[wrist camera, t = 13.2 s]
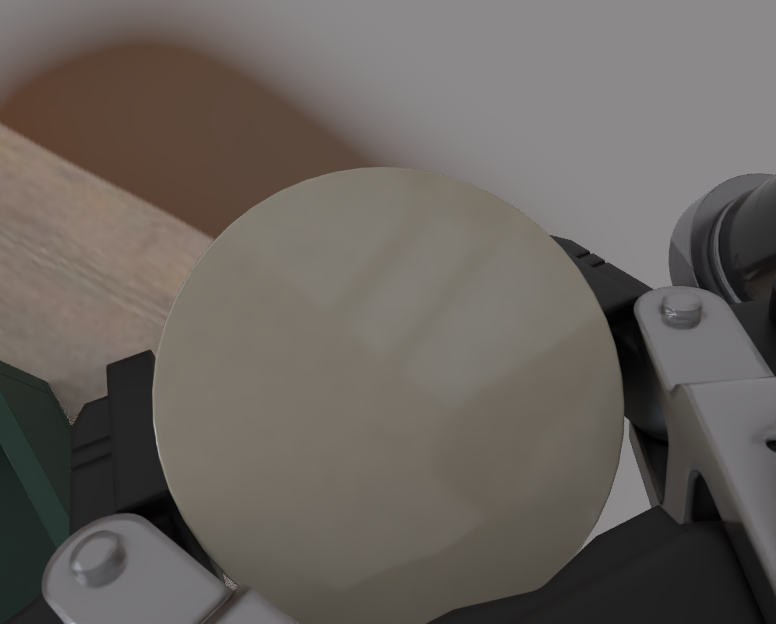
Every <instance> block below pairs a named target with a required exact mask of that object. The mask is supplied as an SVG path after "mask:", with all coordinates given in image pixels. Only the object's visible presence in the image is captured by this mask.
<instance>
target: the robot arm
mask: <svg viewBox="0 0 776 624" xmlns="http://www.w3.org/2000/svg"><path fill="white" fill-rule="evenodd" d="M549 236H550V237H551V238H552V239H553V240H555V241H556V242H557V243H558V244H559V245H560V246H561V248H562V249H563V250H564V251H565V252H566V254H567V255H568V256H569V257H570V259H571V260H572V261H573V262H574V264H575V265H576V266H577V267H578V269H579V270H580V272H581V273H582V275H583V276H584V278H585V280H586V281H587V283H588V284H589V286H590V288H591V289H592V291H593V292H594V294H595V296H596V298H597V300H598V302H599V305H600V307H601V309H602V311H603V313H604V315H605V317H606V319H607V322H608V325H609V328H610V331H611V334H612V337H613V340H614V343H615V346H616V350H617V354H618V359H619V364H620V368H621V373H622V381H623V393H624V404H625V407H624V416H625V417H626V418H628V419H629V420H630V424H629V438H630V442H631V445H632V448H633V452H634V455H635V458H636V461H637V464H638V467H639V470H640V473H641V476H642V479H643V483H644V486H645V489H646V492H647V495H648V498H649V501H650V505H651V509H649V510H647V511H645V512H643V513H641V514H639V515H638V516H636V517H633V518H631V519H630V520H628V521H626V522H624V523H622V524H620V525H618V526H616V527H614V528H612V529H610V530H608V531H606V532H604V533H602V534H600V535H598V536H596V537H595V538H594V539H593V540H592V541H591V542H590V543H589V544H588V545H587V546H585V547H584V549H582V550H581V551H580V552H579V553H578V554H577V555H576V556H575V557H574V558H573V559H572V560H571V561H569V562H568V563H567V564H566V565H565V566H564V567H563V568H562V569H561V570H560V571H559V572H558V573H557V574H556V575H555V576H553V577H552V578H551V579H550V580H549V581H548V582H547V583H546V584H545V585H543V586H542V587H541V588H539V589H537V590H534V591H531V592H527V593H523V594H518V595H514V596H510V597H505V598H501V599H497V600H492V601H488V602H484V603H479V604H475V605H471V606H466V607H462V608H458V609H453V610H451V611H449V612H448V613H446V614H444V615H442V616H440V617H438V618H436V619H434V620H432V621H430V622H428V623H426V624H776V175H774V176H773V177H771V178H770V179H768V180H767V181H765V182H764V183H762V184H761V185H759V186H758V187H756V188H754V189H753V190H750V191H748V192H745V193H744V194H742V195H740V196H739V197H737V198H736V199H734V200H733V201H731V202H730V203H729V204H728V205H727V206H725V207H724V209H723V210H722V211H721V212H720V214H719V215H718V217H717V219H716V221H715V223H714V225H713V228H712V232H711V236H710V259H711V265H712V269H713V272H714V275H715V278H716V280H717V282H718V284H719V287H720V288H721V290H722V292H723V293H724V295H725V296H726V298H727V299H728V301H729V302H730V303H731V304H730V305H728V304H727V303H726V302H725V301H724V300H723V299H722V298H721V297H719V296H717V295H715V294H713V293H711V292H709V291H706V290H703V289H699V288H694V287H686V286H670V287H663V288H658V289H652V288H650V287H649V286H647V285H645V284H644V283H642V282H640V281H639V280H637V279H635V278H633V277H632V276H630V275H629V274H627V273H625V272H624V271H622V270H620V269H618V268H617V267H615V266H613V265H612V264H610V263H605V261H604V260H603V259H602V258H600V257H598V256H597V255H595V254H590V251H588V250H587V249H585V248H583V247H581V246H580V245H578V244H576V243H575V242H573V241H571V240H568V239H564V238H559V237H556V236H551V235H549ZM154 368H155V356H154V354H153V352H152V351H151V350H147V351H144V352H141V353H139V354H136V355H133V356H130V357H128V358H125V359H122V360H119V361H116V362H114V363H111V364H108V365H107V367H106V372H107V389H108V396H105V397H103V398H100V399H97V400H95V401H92V402H89V403H87V404H85V405H84V406H83V408H82V410H81V412H80V413H79V415H78V417H77V419H76V421H75V422H74V424H73V426H72V428H71V451H72V454H71V470H72V472H71V473H70V515H69V538H68V539H67V540H66V541H65V542H64V543H63V544H62V545H61V546H60V547H59V548H58V549H57V550H56V552H55V553H54V554H53V556H52V557H51V559H50V561H49V562H48V564H47V566H46V568H45V571H44V573H43V578H42V592H41V593H40V595H38V596H37V597H36V598H35V599H34V600H33V601H32V602H31V603H30V604H28V605H27V606H26V607H24V608H23V609H22V610H20V611H19V612H18V613H16V614H15V615H13V616H12V617H11V618H9V619H8V620H6V621H5V622H3V623H2V624H297V623H295V622H294V621H293V620H292V619H290V618H289V617H288V616H287V615H285V614H284V613H283V612H282V611H280V610H279V609H278V608H277V607H275V606H274V605H273V604H272V603H270V602H269V601H268V600H267V599H266V598H264V597H263V596H262V595H261V594H259V593H258V592H257V591H255V590H254V589H252V588H250V587H249V586H246V585H243V584H242V585H240V586H239V587H238V588H237V589H236V590H234V591H233V590H232V589H230V588H229V587H227V586H226V585H225V581H224V577H223V572H222V570H221V569H220V568H219V567H218V566H217V565H216V564H215V563H214V561H213V560H212V559H211V558H210V557H209V556H208V555H207V554H206V552H205V551H204V550H203V549H202V547H201V546H200V544H199V543H198V541H197V540H196V538H195V537H194V535H193V534H192V532H191V531H190V529H189V528H188V526H187V525H186V523H185V522H184V520H183V518H182V516H181V514H180V512H179V510H178V508H177V505H176V503H175V501H174V499H173V497H172V495H171V493H170V491H169V488H168V485H167V482H166V479H165V476H164V473H163V469H162V466H161V463H160V460H159V456H158V451H157V445H156V439H155V433H154V427H153V407H152V386H153V377H154Z"/></svg>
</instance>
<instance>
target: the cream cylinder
mask: <svg viewBox="0 0 776 624" xmlns="http://www.w3.org/2000/svg"><path fill="white" fill-rule="evenodd" d="M152 407H153V427H154V433H155V439H156V445H157V451H158V456H159V460H160V463H161V466H162V469H163V473H164V476H165V479H166V482H167V485H168V488H169V491H170V493H171V495H172V497H173V499H174V501H175V503H176V505H177V508H178V510H179V512H180V514H181V516H182V518H183V520H184V522H185V523H186V525H187V526H188V528H189V529H190V531H191V532H192V534H193V535H194V537H195V538H196V540H197V541H198V543H199V544H200V546H201V547H202V549H203V550H204V551H205V552H206V554H207V555H208V556H209V557H210V558H211V559H212V560H213V561H214V563H215V564H216V565H217V566H218V567H219V568H220V569H221V570H222V572H223V573H224V574H225V575H226V576H227V577H228V578H230V579H231V580H232V581H233V582H234V583H235V584H237V585H238V586H240V585H242V584H243V585H246V586H249V587H250V588H252V589H254V590H255V591H257V592H258V593H259V594H261V595H262V596H263V597H264V598H266V599H267V600H268V601H269V602H270V603H272V604H273V605H274V606H275V607H277V608H278V609H279V610H280V611H282V612H283V613H284V614H285V615H287V616H288V617H289V618H290V619H292V620H293V621H294V622H296V623H298V624H426V623H428V622H430V621H432V620H434V619H436V618H438V617H440V616H442V615H444V614H446V613H448V612H449V611H451V610H453V609H458V608H462V607H466V606H471V605H475V604H479V603H484V602H488V601H492V600H497V599H501V598H505V597H510V596H514V595H518V594H523V593H527V592H531V591H534V590H537V589H539V588H541V587H542V586H543V585H545V584H546V583H547V582H548V581H549V580H550V579H551V578H552V577H553V576H555V575H556V574H557V573H558V572H559V571H560V570H561V569H562V568H563V567H564V566H565V565H566V564H567V563H568V562H569V561H571V560H572V559H573V558H574V556H575V555H576V554H577V553H578V551H579V550H580V549H581V548H582V546H583V544H584V542H585V541H586V539H587V538H588V536H589V535H590V533H591V531H592V530H593V528H594V526H595V525H596V523H597V521H598V519H599V517H600V515H601V512H602V510H603V508H604V506H605V503H606V501H607V499H608V497H609V495H610V492H611V488H612V485H613V482H614V478H615V475H616V471H617V468H618V465H619V459H620V453H621V447H622V441H623V435H624V407H625V404H624V393H623V381H622V373H621V368H620V364H619V359H618V354H617V350H616V346H615V343H614V340H613V337H612V334H611V331H610V328H609V325H608V322H607V319H606V317H605V315H604V313H603V311H602V309H601V307H600V305H599V302H598V300H597V298H596V296H595V294H594V292H593V291H592V289H591V288H590V286H589V284H588V283H587V281H586V280H585V278H584V276H583V275H582V273H581V272H580V270H579V269H578V267H577V266H576V265H575V264H574V262H573V261H572V260H571V259H570V257H569V256H568V255H567V254H566V252H565V251H564V250H563V249H562V248H561V246H560V245H559V244H558V243H557V242H556V241H555V240H553V239H552V238H551V237H550V236H549V235H548V234H547V233H546V232H545V231H544V230H543V229H542V228H541V227H540V226H539V225H538V224H536V223H535V222H534V221H532V220H531V219H530V218H529V217H527V216H526V215H525V214H523V213H522V212H521V211H520V210H518V209H517V208H515V207H513V206H512V205H510V204H508V203H507V202H505V201H503V200H502V199H500V198H499V197H497V196H495V195H493V194H491V193H489V192H487V191H485V190H482V189H480V188H478V187H476V186H474V185H472V184H469V183H466V182H463V181H460V180H457V179H454V178H451V177H448V176H445V175H441V174H436V173H431V172H426V171H421V170H416V169H406V168H393V167H379V168H378V167H377V168H358V169H351V170H345V171H340V172H333V173H329V174H326V175H322V176H319V177H315V178H312V179H308V180H305V181H302V182H300V183H298V184H296V185H293V186H291V187H289V188H286V189H284V190H282V191H279V192H277V193H276V194H274V195H272V196H271V197H269V198H267V199H266V200H264V201H262V202H261V203H259V204H257V205H256V206H254V207H252V208H251V209H250V210H248V211H247V212H246V213H244V214H243V215H242V216H241V217H239V218H238V219H237V220H236V221H234V222H233V223H232V224H230V225H229V226H228V227H227V228H226V229H225V230H224V231H223V232H222V233H221V234H220V235H219V237H217V238H216V239H215V240H214V241H213V242H212V243H211V244H210V246H209V247H208V248H207V249H206V250H205V252H204V253H203V254H202V256H201V257H200V258H199V260H198V261H197V262H196V264H195V265H194V266H193V268H192V269H191V270H190V272H189V274H188V275H187V277H186V279H185V281H184V283H183V284H182V286H181V288H180V290H179V291H178V293H177V295H176V297H175V299H174V301H173V304H172V306H171V309H170V311H169V314H168V316H167V319H166V321H165V324H164V326H163V330H162V334H161V338H160V342H159V346H158V350H157V354H156V358H155V368H154V377H153V386H152Z"/></svg>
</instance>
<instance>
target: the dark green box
mask: <svg viewBox="0 0 776 624" xmlns="http://www.w3.org/2000/svg"><path fill="white" fill-rule="evenodd" d="M71 428H72V426H71V424H70V423H69V421H68V419H67V417H66V415H65V414H64V412H63V410H62V408H61V406H60V405H59V403H58V401H57V399H56V397H55V396H54V394H53V392H52V390H51V388H50V387H49V385H48V383H47V382H46V381H44V380H42V379H39V378H37V377H35V376H33V375H31V374H29V373H26V372H24V371H22V370H20V369H18V368H15V367H13V366H11V365H9V364H7V363H5V362H2V361H0V624H2V623H3V622H5V621H6V620H8V619H9V618H11V617H12V616H13V615H15V614H16V613H18V612H19V611H20V610H22V609H23V608H24V607H26V606H27V605H28V604H30V603H31V602H32V601H33V600H34V599H35V598H36V597H37V596H38V595H40V593H41V592H42V578H43V573H44V571H45V568H46V566H47V564H48V562H49V561H50V559H51V557H52V556H53V554H54V553H55V552H56V550H57V549H58V548H59V547H60V546H61V545H62V544H63V543H64V542H65V541H66V540H67V539H68V538H69V515H70V473H71V472H72V470H71V454H72V451H71Z"/></svg>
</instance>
